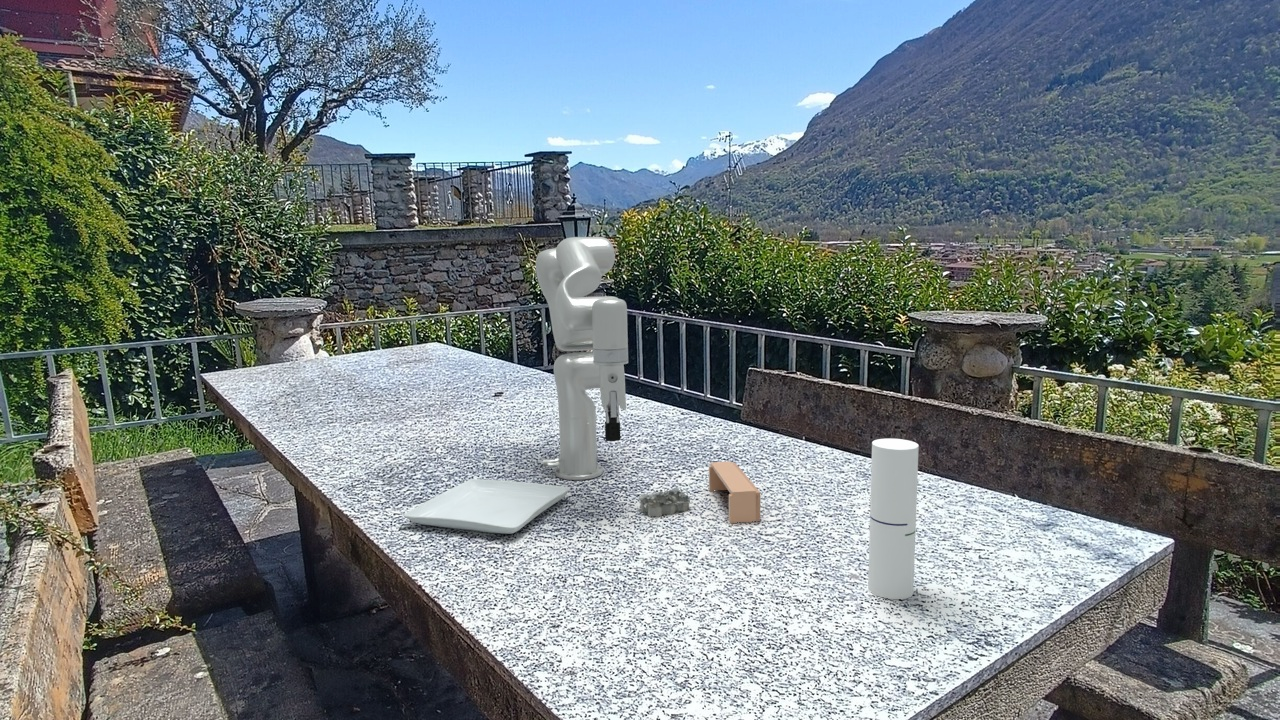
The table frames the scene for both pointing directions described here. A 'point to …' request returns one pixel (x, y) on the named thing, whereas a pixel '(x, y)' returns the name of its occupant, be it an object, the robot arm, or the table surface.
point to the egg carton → (664, 502)
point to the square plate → (488, 505)
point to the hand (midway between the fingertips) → (612, 439)
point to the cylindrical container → (893, 518)
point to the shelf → (736, 491)
